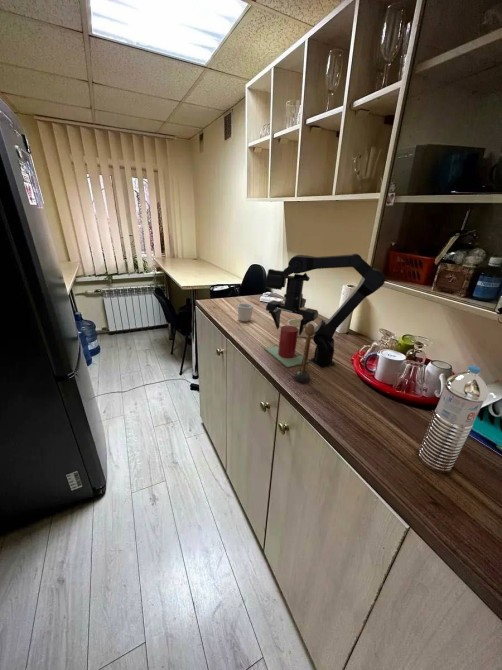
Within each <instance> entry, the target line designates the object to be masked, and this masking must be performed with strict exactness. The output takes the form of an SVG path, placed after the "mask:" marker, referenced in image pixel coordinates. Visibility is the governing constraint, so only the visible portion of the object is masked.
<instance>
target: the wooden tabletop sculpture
mask: <svg viewBox="0 0 502 670" xmlns="http://www.w3.org/2000/svg"><path fill="white" fill-rule="evenodd" d="M303 328H304V329H305V333H306V335H308V337H305V344H304V351H303V356H302V357H303V360H304V362H303V360H302V363H301V364H300V367H299V369H298V371H297V372H296V373H295V378H294V379H295V381H296V382H298V383H300V384H308V383H309V382H310V378H311V376H310V373H309V372H308V363H309V362H308V361H309V355H310V354H309V353H310V347H311V342H312V341H311V340H312V337H310V336H313V335H314V333H315V328H314V326H313V325H312V324H308V325H303ZM313 337H314V336H313ZM306 360H307V363H306Z"/></svg>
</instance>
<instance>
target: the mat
mask: <svg viewBox="0 0 502 670" xmlns="http://www.w3.org/2000/svg"><path fill="white" fill-rule="evenodd" d="M278 349H279V345H274V346H269V347H265V348H264V350H265V351H266V352H267V353H269V354H270V355H271V356H273V357H274V358H275V359H276V360H278V361H279V362H280V363H281V364H283V366H285V367H286V368H292V367H295V366H301V363H302V360H303V356H302V355H295V356H294V357H293V358H283V357H280V356H279V355H278ZM303 362H304V360H303ZM306 363H307V360H306ZM308 363H310V361H309V360H308Z"/></svg>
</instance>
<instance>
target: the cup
mask: <svg viewBox="0 0 502 670" xmlns="http://www.w3.org/2000/svg"><path fill="white" fill-rule="evenodd" d="M253 311H254V304H252V303H248V302H240V303H238V304H237V318H238V320H239V321H240V322H250V321H251V319H252V316H253Z"/></svg>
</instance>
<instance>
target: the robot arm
mask: <svg viewBox="0 0 502 670" xmlns="http://www.w3.org/2000/svg"><path fill="white" fill-rule="evenodd" d="M337 268H338V269H340V268H353V269H354V270H355V271H356V272H357V273H358V274H359V275H360V277H361V279H360V280H359V282H358V284H357V285H356V288H355V289H354V290H353V292H352V293H351V294H350V295H349V296H348V297H347V299H345V301H344V302H343V303H341V305H340V306H339V307H338V309H337V310H336V311H335V312H334V313H333V314H332V315H331V316H330V318H329V319H327V320H326V321H324V320H323V319H321V320H320V321H319V323H318V324H317V326H316V327H315V333H314V336H313V337H312V340H313V343H314V344H315V349H314V355H313V357H312V358H311V359H310V361H312V362H313V363H315V364H316V365H318V366H319V367H320V368H325V367H329V366H333V365H335V363H336V362H334V361H333V358H334V354H335V339H334V335H335V333H336V331H337V329H338V328H339V327H340V326H341V325H342V323H343V322H344V321H345V320H346V319H348V317H349V316H350V315H351V314H352V313H353V312H354V310H355V309H356V308H357V307H358V306H359V305H360V304H361V303H362V302H363V301H364V300H365V299H367V297H369V296H371V295H372V294H374V293H375V292H376V291H378V290H380V288H382V287H383V286H384V285H385V282H386V276H385V274H384V273H383V272H382V271H381V270H380V269H379V268H377V267H372V266H371V265H370V264H369V263H368V262H366V260H364V259H363V258H362V256H361V255H360V254H359V253H351V254H341V255H325V256H313V255H306V254H295V255H294V256H293V257H291V258H289V261H288V264H287V267H286V268H284V269H283V270H279V269H278V270H276V269H273V268H269V269H268V270H267V274H266V279H265V281H264V282H265V283H264V284H265V285H264V286H265V288H266V289H270V290H271V289H272V290H279V291H282V289H283V288H286V289H285V293H284V295H283V298H284V304H283V303H282V301H278V300H273V299H272V300H271V301H269V302H267V303H266V304H265V310H266V311H267V312H268V314H270V315H271V318H272V319H273V322H274V324H275V328H276V329H277V330H278V329H280V326H281V325H280V323H281V313H282V311H283V312H287V313H291V314H295V315H299V316H301V317H302V318H300V319H301V323H300V329H299V335H301V333H302V332H303V330H304V328H303V325H306V324H307V323H309V322H310V321H313V322H315V320H316V319H318V318H319V311H318V309H314V308H311V307H307V308H306V309H302V308H305V305H306V302H307V299H306V298H304V295H303V289H304V282H309V281H310V276H308V274H307V272H311V271H314V270H322V269H337ZM302 273H303V274H302ZM292 274H293V275H292Z"/></svg>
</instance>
